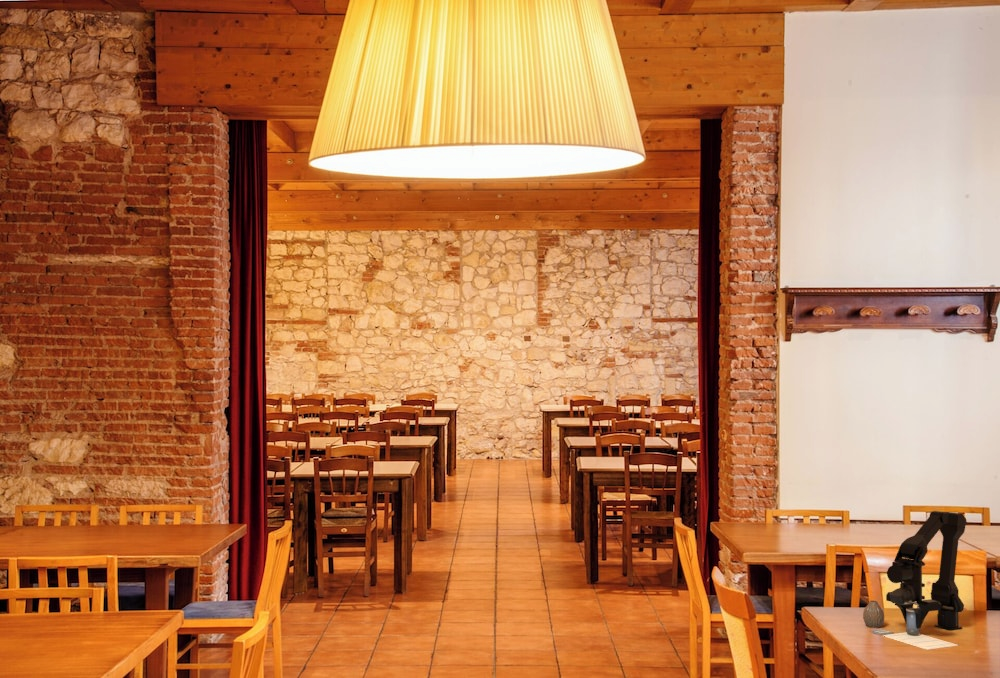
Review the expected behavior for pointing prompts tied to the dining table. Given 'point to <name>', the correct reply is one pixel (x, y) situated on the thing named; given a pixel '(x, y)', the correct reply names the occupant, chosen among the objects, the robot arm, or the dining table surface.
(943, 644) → the paper
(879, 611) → the vase
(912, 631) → the grey capped bottle
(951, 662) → the dining table surface
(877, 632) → the grey striped tile
